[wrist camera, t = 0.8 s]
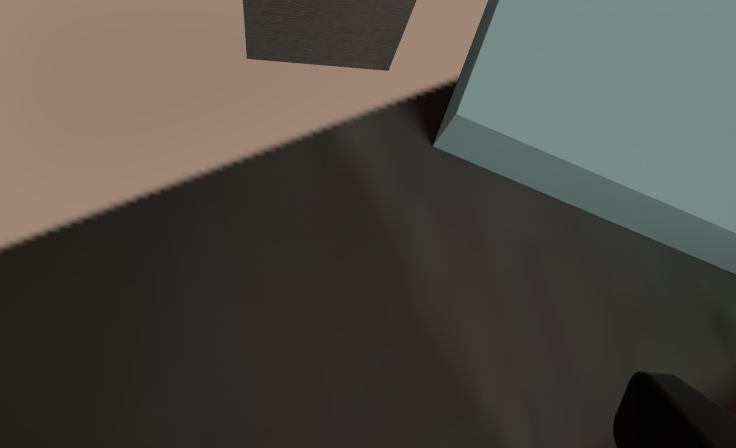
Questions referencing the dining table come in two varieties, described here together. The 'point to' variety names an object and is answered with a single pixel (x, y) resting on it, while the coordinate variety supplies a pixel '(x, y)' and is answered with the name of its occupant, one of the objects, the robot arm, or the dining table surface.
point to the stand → (609, 112)
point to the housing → (326, 31)
